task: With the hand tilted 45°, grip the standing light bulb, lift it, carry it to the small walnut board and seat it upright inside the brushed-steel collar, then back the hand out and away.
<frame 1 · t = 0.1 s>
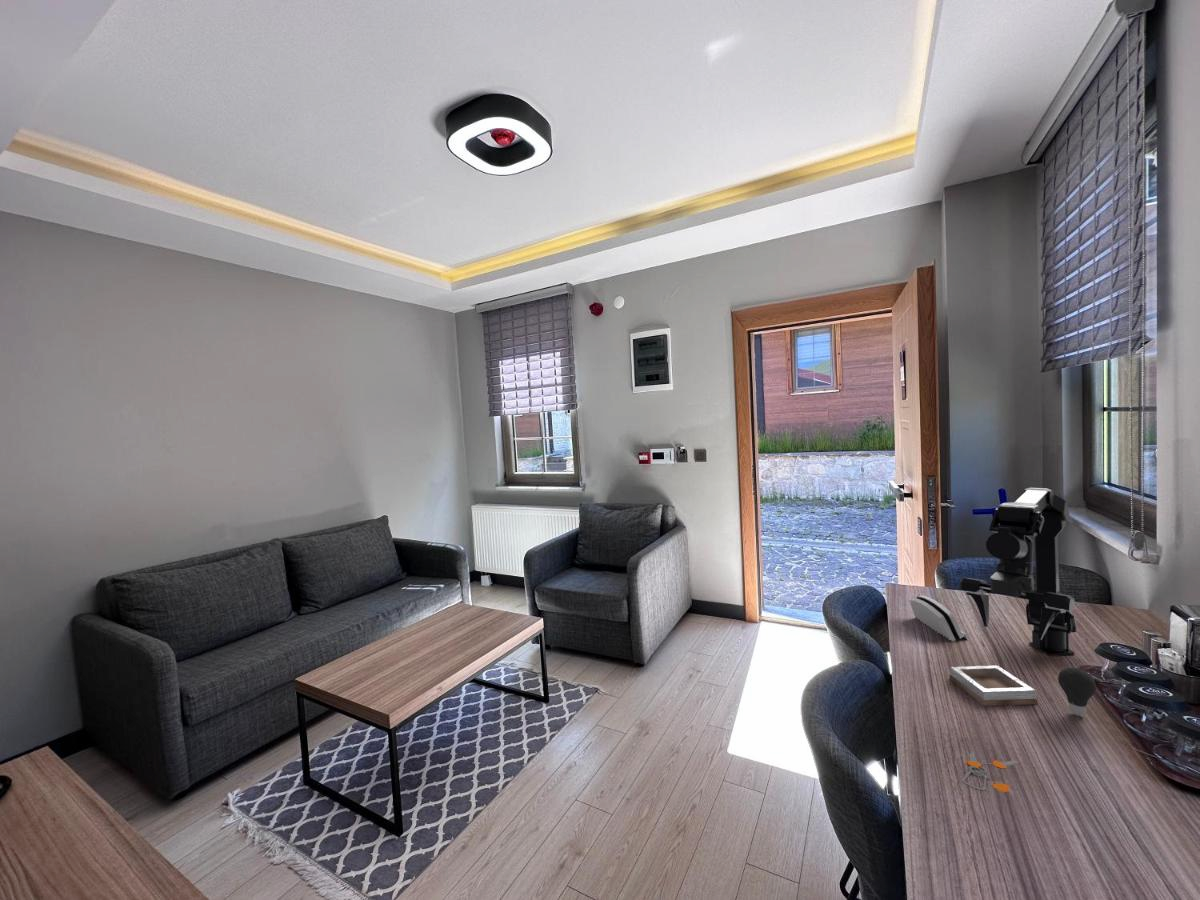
hand: (1012, 632, 106), 15 cm above the table, tool pointing down, fingers open, 9 cm apart
socket board: (991, 690, 111), on the table
socket collar: (990, 682, 111), on the socket board, point 1 cm above the table
white arched casing: (936, 629, 144), on the table
light bulb: (1077, 716, 100), on the table
key chain: (988, 774, 87), on the table
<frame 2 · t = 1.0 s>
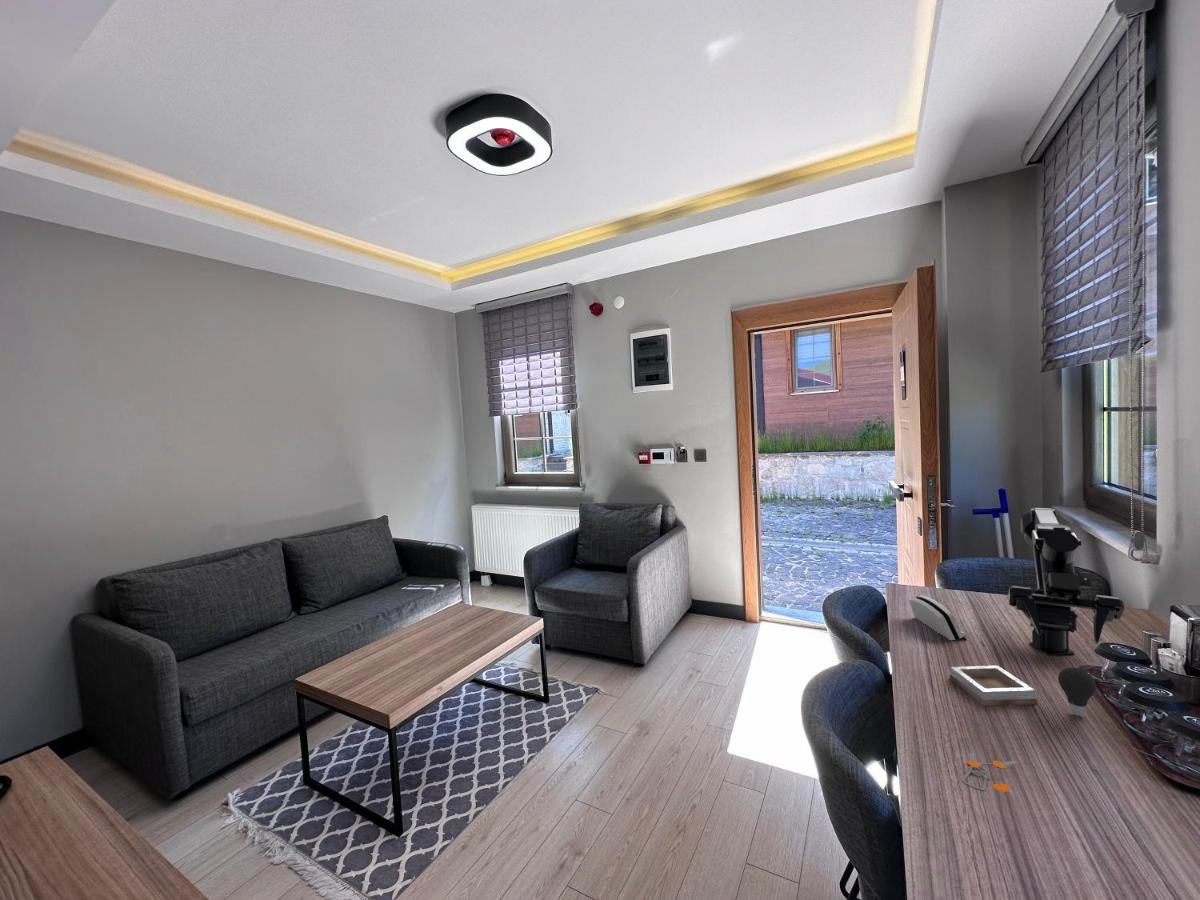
hand: (1067, 637, 106), 13 cm above the table, tool tilted 45°, fingers open, 9 cm apart
nothing on the table moved.
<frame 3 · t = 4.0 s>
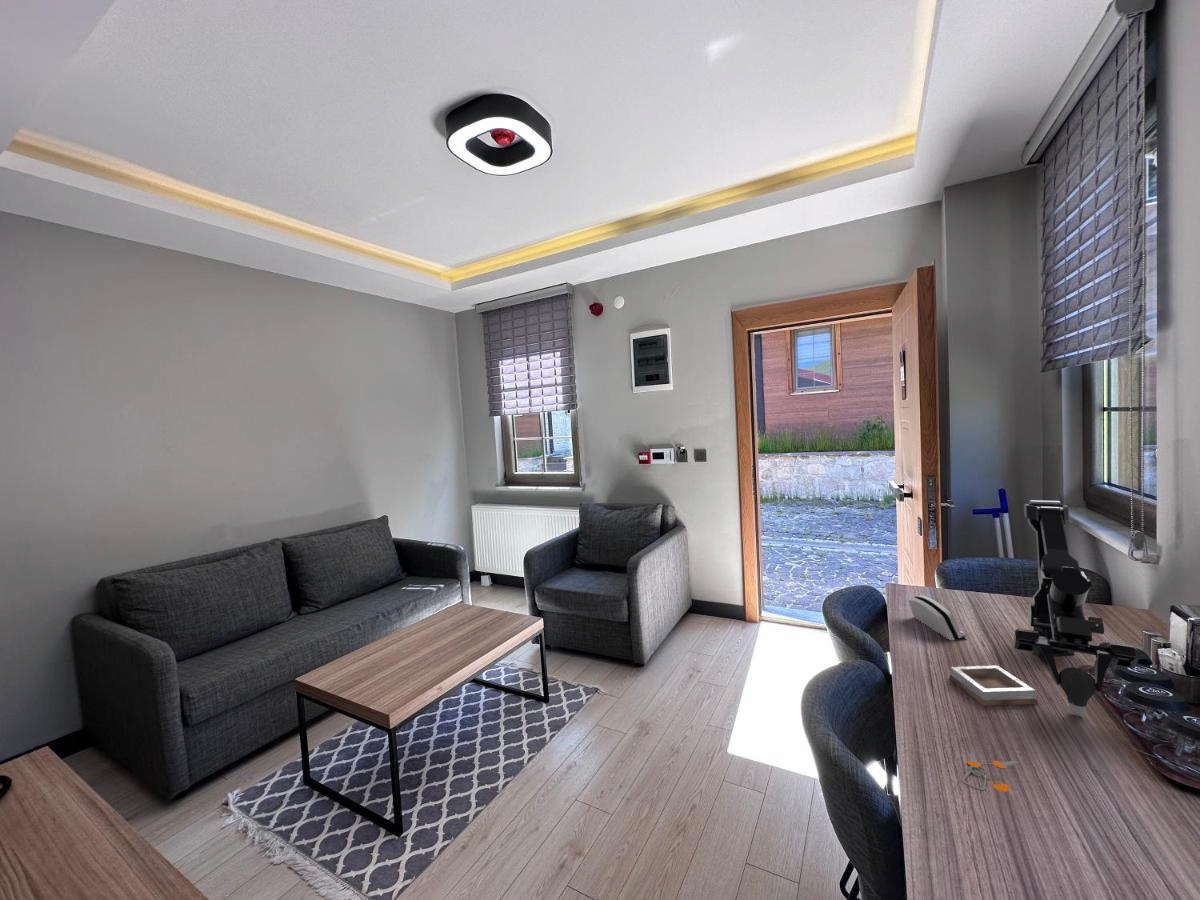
hand: (1078, 688, 99), 7 cm above the table, tool tilted 45°, fingers closed on light bulb, 6 cm apart
light bulb: (1077, 716, 100), on the table, touching gripper
everything else where it was.
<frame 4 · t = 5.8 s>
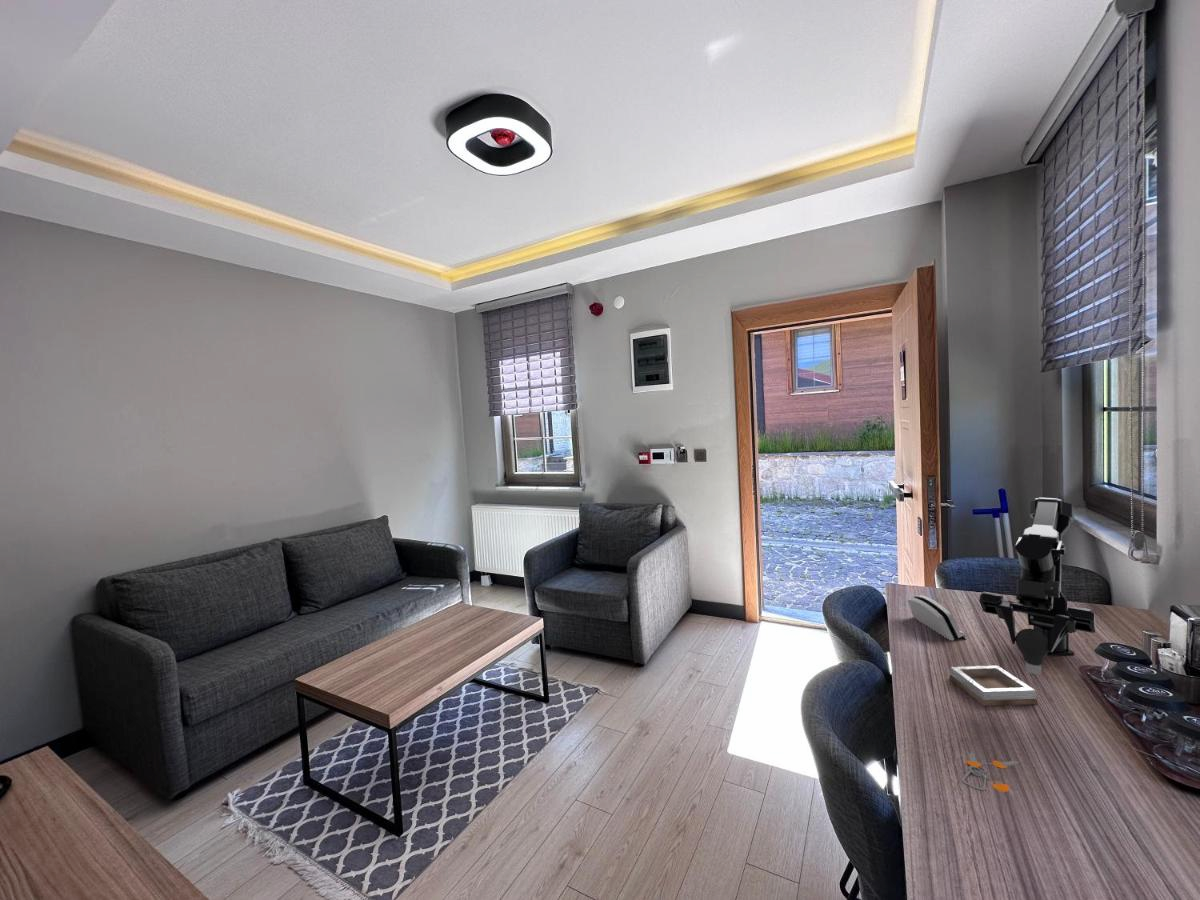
hand: (1031, 647, 103), 13 cm above the table, tool tilted 45°, fingers closed on light bulb, 6 cm apart
light bulb: (1033, 675, 105), point 6 cm above the table, touching gripper
everything else where it was.
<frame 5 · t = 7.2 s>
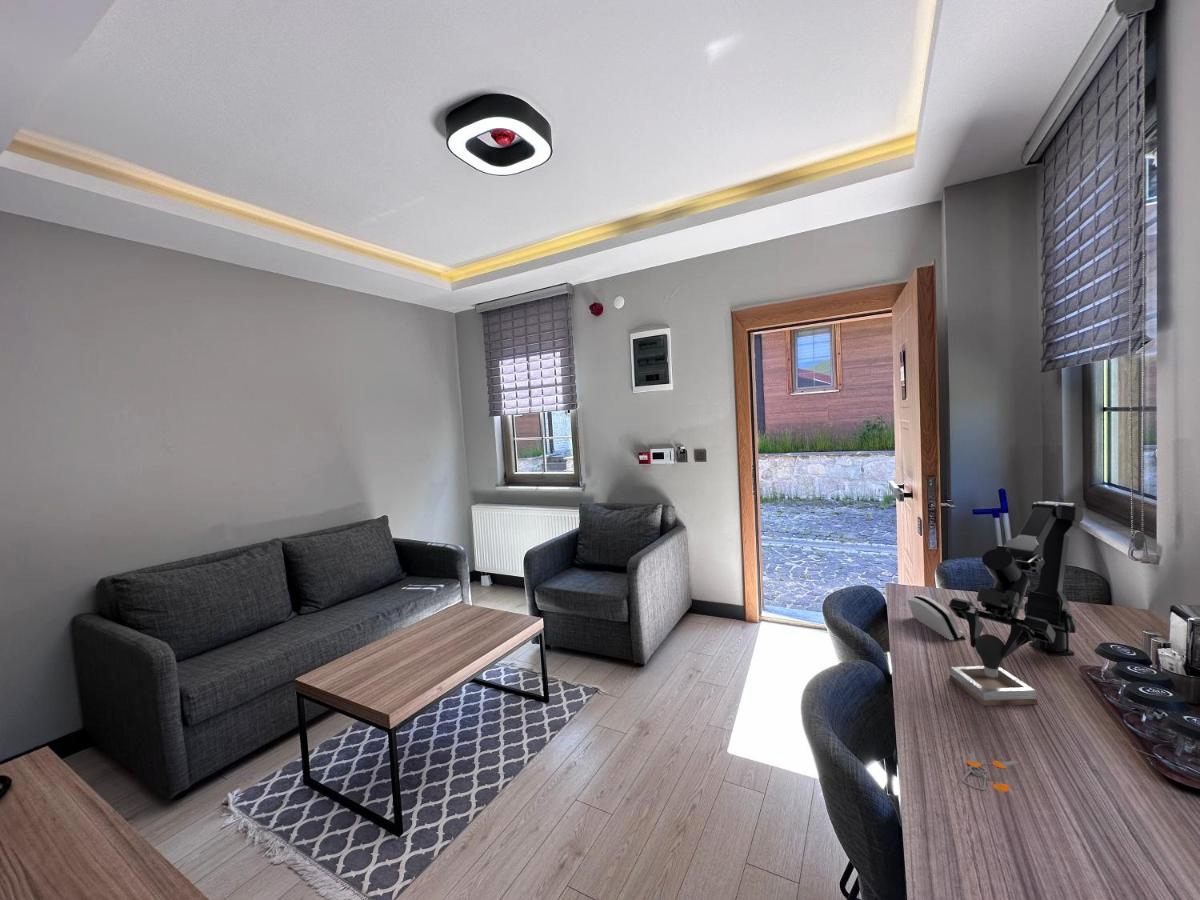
hand: (987, 651, 110), 10 cm above the table, tool tilted 45°, fingers closed on light bulb, 6 cm apart
light bulb: (991, 678, 111), point 3 cm above the table, touching gripper
everything else where it was.
when the fingers open (9 cm above the table, at t = 7.8 s): light bulb drops 1 cm, resting on socket board.
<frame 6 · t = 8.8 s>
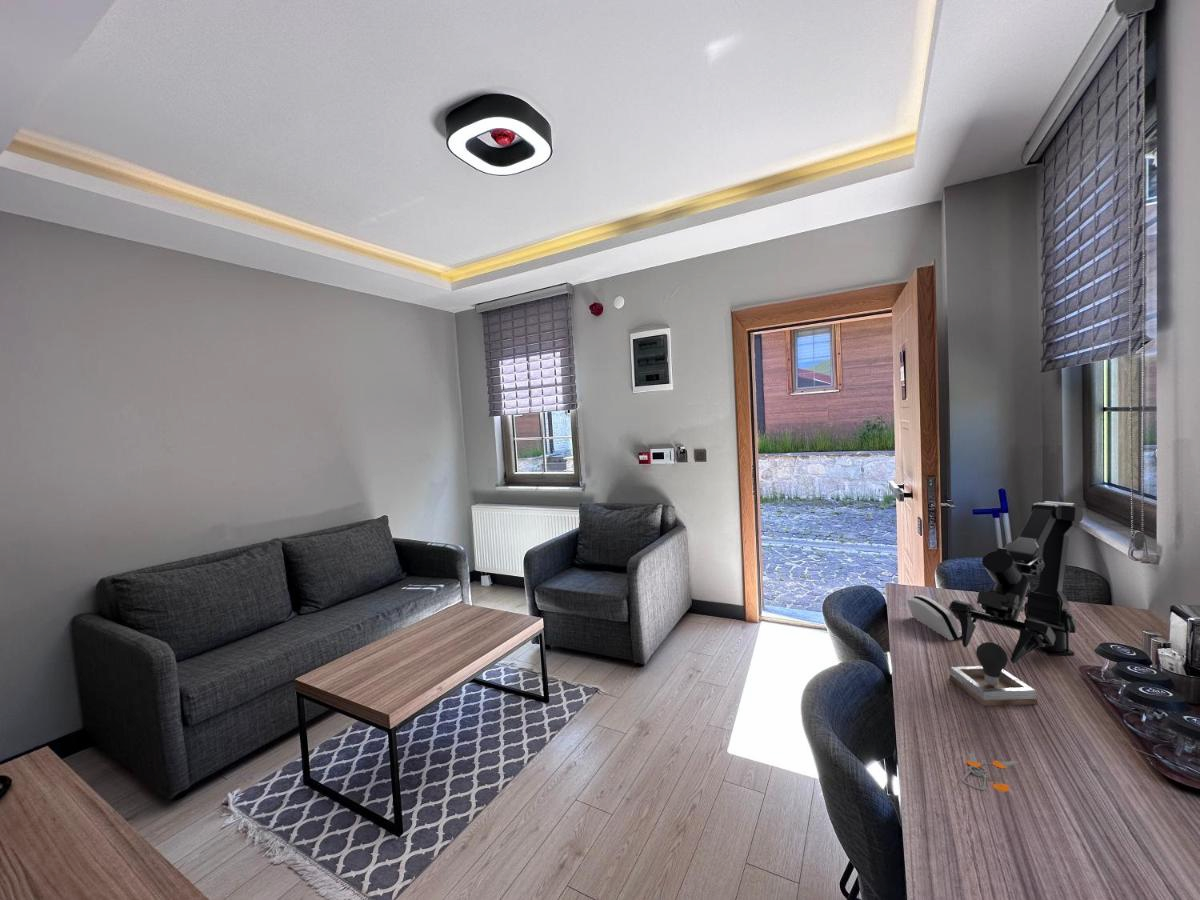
hand: (987, 653, 110), 9 cm above the table, tool tilted 45°, fingers open, 9 cm apart
light bulb: (991, 686, 111), point 1 cm above the table, touching socket board
everything else where it was.
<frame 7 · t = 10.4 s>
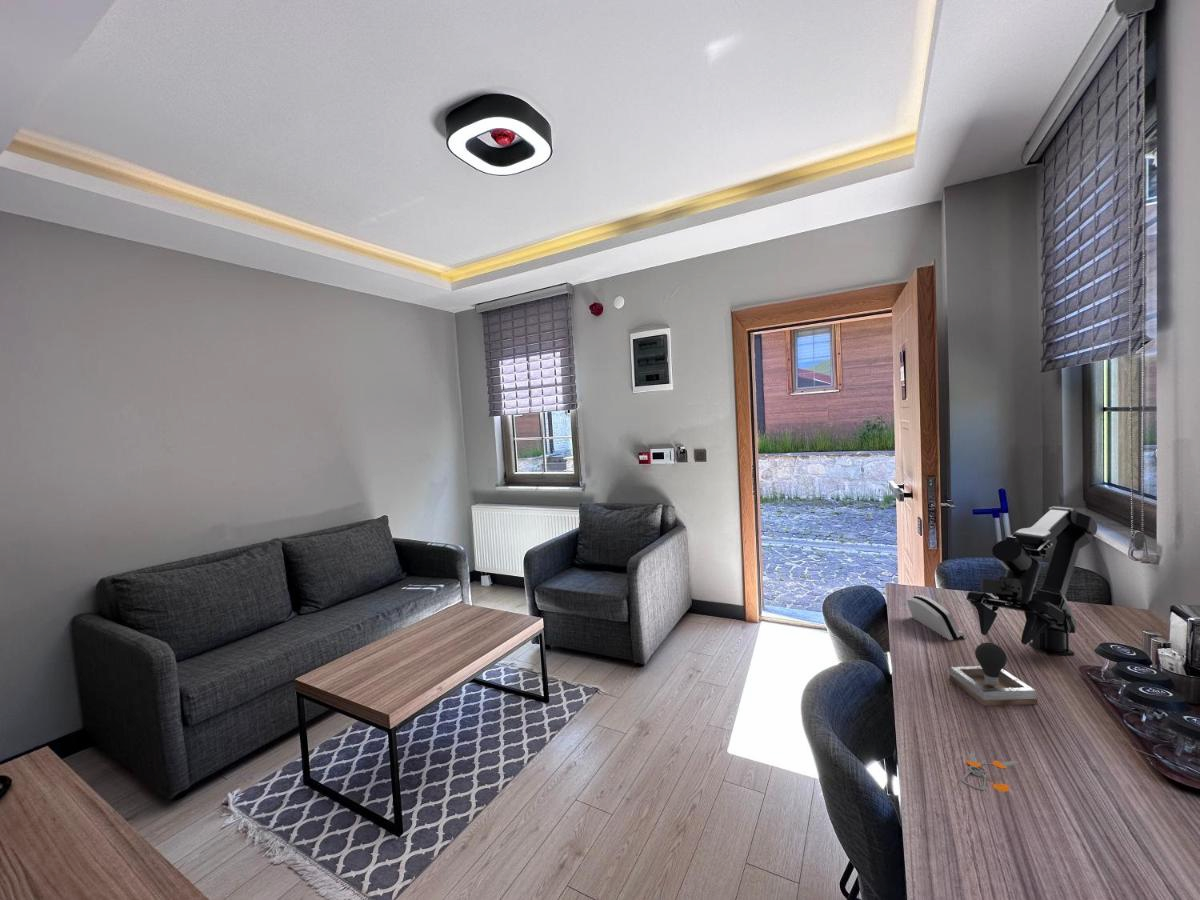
hand: (1002, 638, 115), 10 cm above the table, tool tilted 35°, fingers open, 9 cm apart
nothing on the table moved.
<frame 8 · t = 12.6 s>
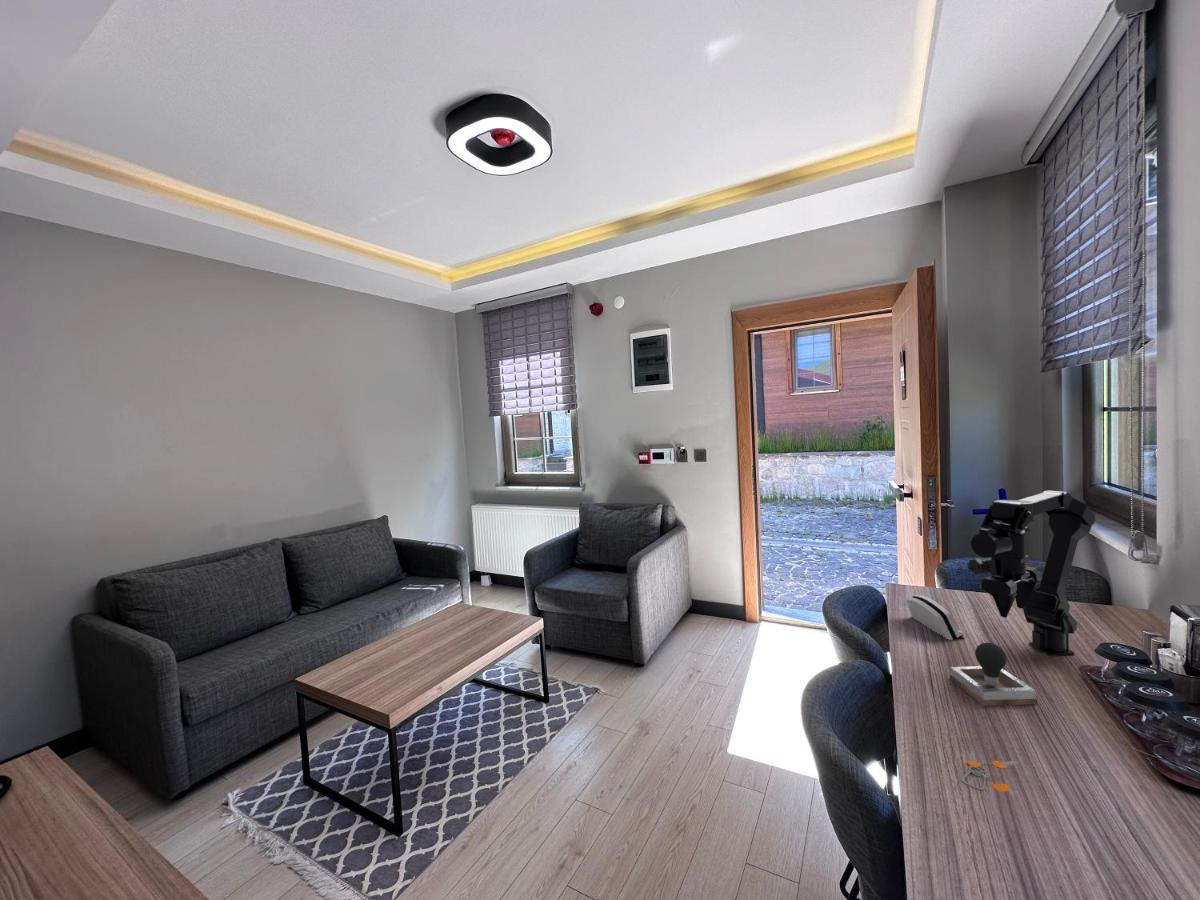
hand: (1012, 612, 121), 13 cm above the table, tool pointing down, fingers open, 9 cm apart
nothing on the table moved.
at the end: light bulb 0.2 cm off-centre on the socket collar, point 0.8 cm above the socket collar's base; light bulb tilted 0°; the gripper is holding nothing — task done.
